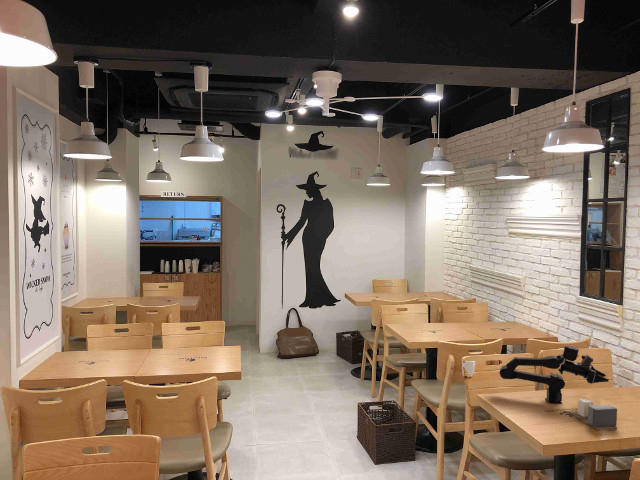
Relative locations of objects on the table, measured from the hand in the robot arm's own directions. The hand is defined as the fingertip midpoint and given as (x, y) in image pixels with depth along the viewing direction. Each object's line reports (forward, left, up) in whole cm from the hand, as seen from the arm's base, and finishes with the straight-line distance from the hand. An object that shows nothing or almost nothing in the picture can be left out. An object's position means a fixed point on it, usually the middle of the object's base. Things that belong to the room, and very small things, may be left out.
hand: (607, 378), depth 259 cm
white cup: (-58, +48, -16) cm, 77 cm away
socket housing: (-14, -25, -15) cm, 32 cm away
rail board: (-16, -19, -16) cm, 29 cm away
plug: (-17, -16, -14) cm, 27 cm away
